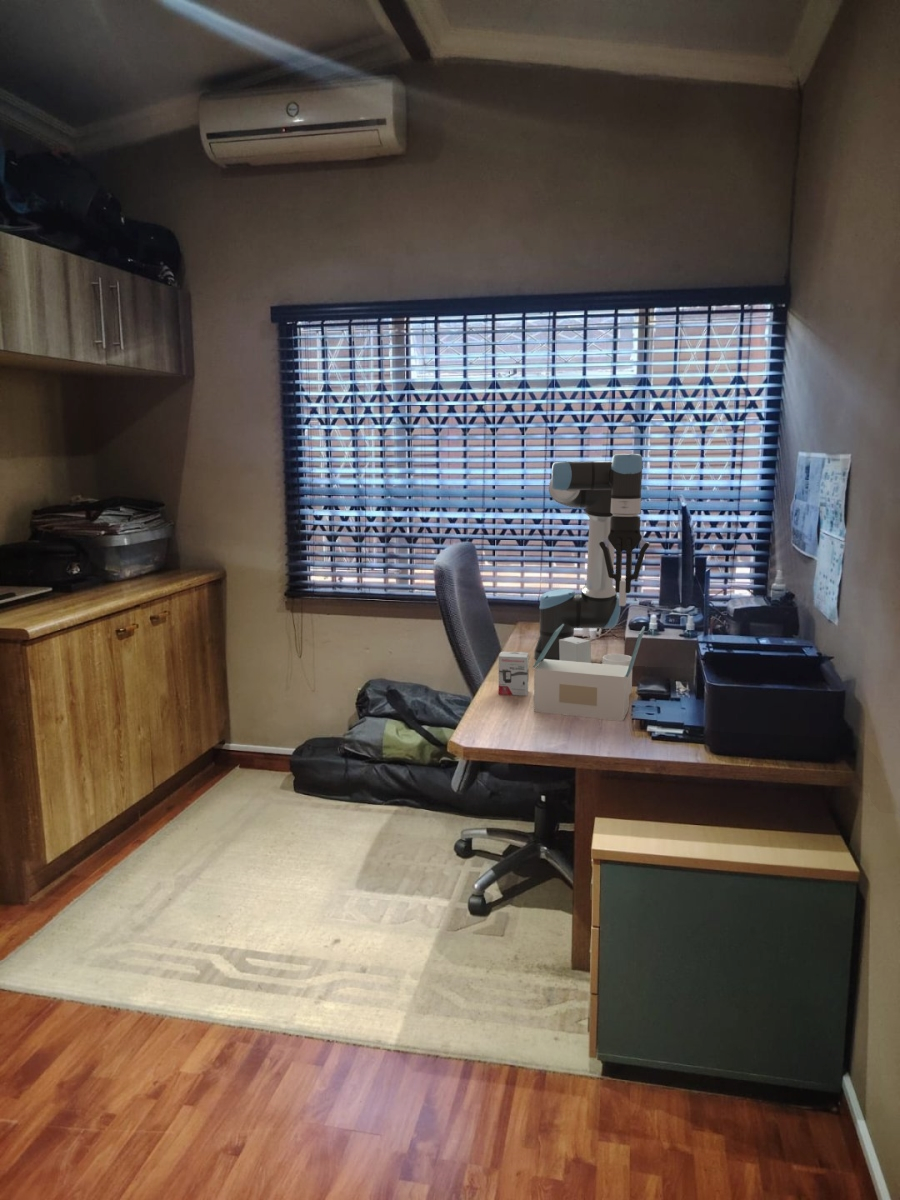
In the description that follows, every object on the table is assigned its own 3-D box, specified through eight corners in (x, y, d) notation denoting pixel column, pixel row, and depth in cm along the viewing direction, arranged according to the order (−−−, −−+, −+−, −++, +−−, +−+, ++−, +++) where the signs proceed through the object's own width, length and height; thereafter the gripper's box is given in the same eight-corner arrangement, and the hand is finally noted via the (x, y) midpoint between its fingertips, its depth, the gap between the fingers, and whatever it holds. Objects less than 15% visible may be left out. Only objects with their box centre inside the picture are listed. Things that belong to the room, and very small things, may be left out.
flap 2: (630, 667, 210) (632, 667, 210) (625, 676, 201) (627, 677, 201) (643, 626, 207) (645, 626, 206) (638, 633, 198) (640, 634, 198)
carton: (543, 699, 221) (544, 659, 219) (628, 708, 213) (630, 666, 211) (533, 711, 211) (534, 669, 209) (622, 721, 203) (624, 677, 200)
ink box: (497, 694, 226) (497, 655, 224) (499, 689, 231) (499, 651, 229) (527, 696, 225) (527, 656, 222) (528, 691, 229) (529, 652, 227)
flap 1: (534, 667, 210) (532, 666, 210) (542, 659, 218) (541, 658, 218) (556, 632, 205) (554, 631, 206) (564, 624, 214) (562, 623, 214)
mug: (603, 700, 220) (603, 664, 218) (600, 688, 232) (601, 653, 230) (633, 701, 219) (635, 664, 217) (630, 688, 230) (631, 654, 228)
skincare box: (591, 689, 231) (593, 640, 228) (576, 692, 227) (577, 643, 225) (572, 682, 237) (573, 635, 235) (557, 685, 234) (558, 638, 231)
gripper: (597, 515, 197) (595, 606, 202) (650, 516, 193) (646, 609, 197) (602, 513, 204) (599, 600, 209) (652, 514, 200) (649, 603, 204)
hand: (622, 604), depth 203 cm, fingers closed
